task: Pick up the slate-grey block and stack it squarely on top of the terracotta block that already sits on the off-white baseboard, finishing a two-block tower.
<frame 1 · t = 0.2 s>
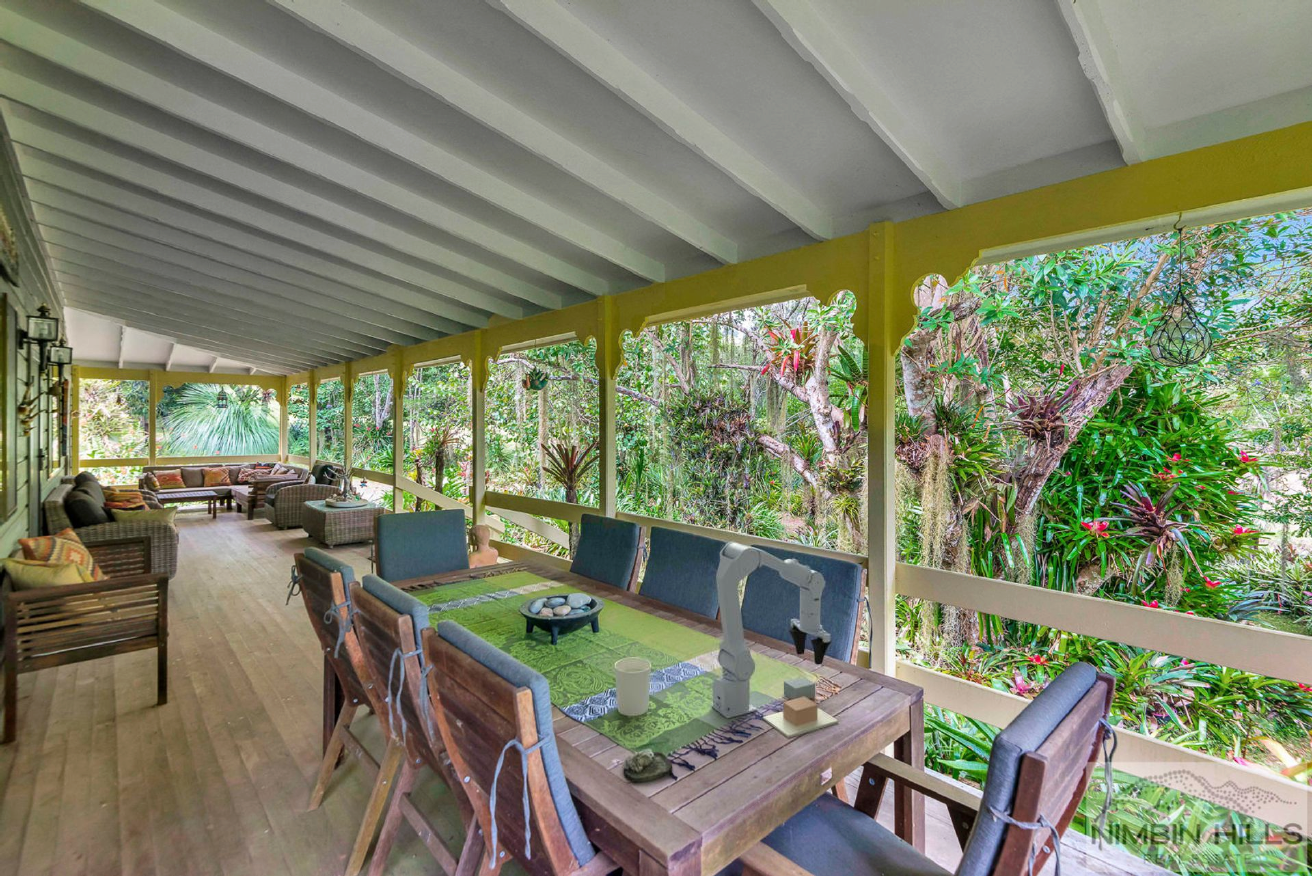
hand: (809, 658, 166), 9 cm above the table, tool pointing down, fingers open, 7 cm apart
dark green oval dish: (647, 771, 129), on the table
candle holder: (632, 709, 156), on the table
baseboard: (800, 720, 149), on the table
slate brick: (799, 696, 163), on the table
terracotta brick: (800, 718, 149), point 1 cm above the table, touching baseboard
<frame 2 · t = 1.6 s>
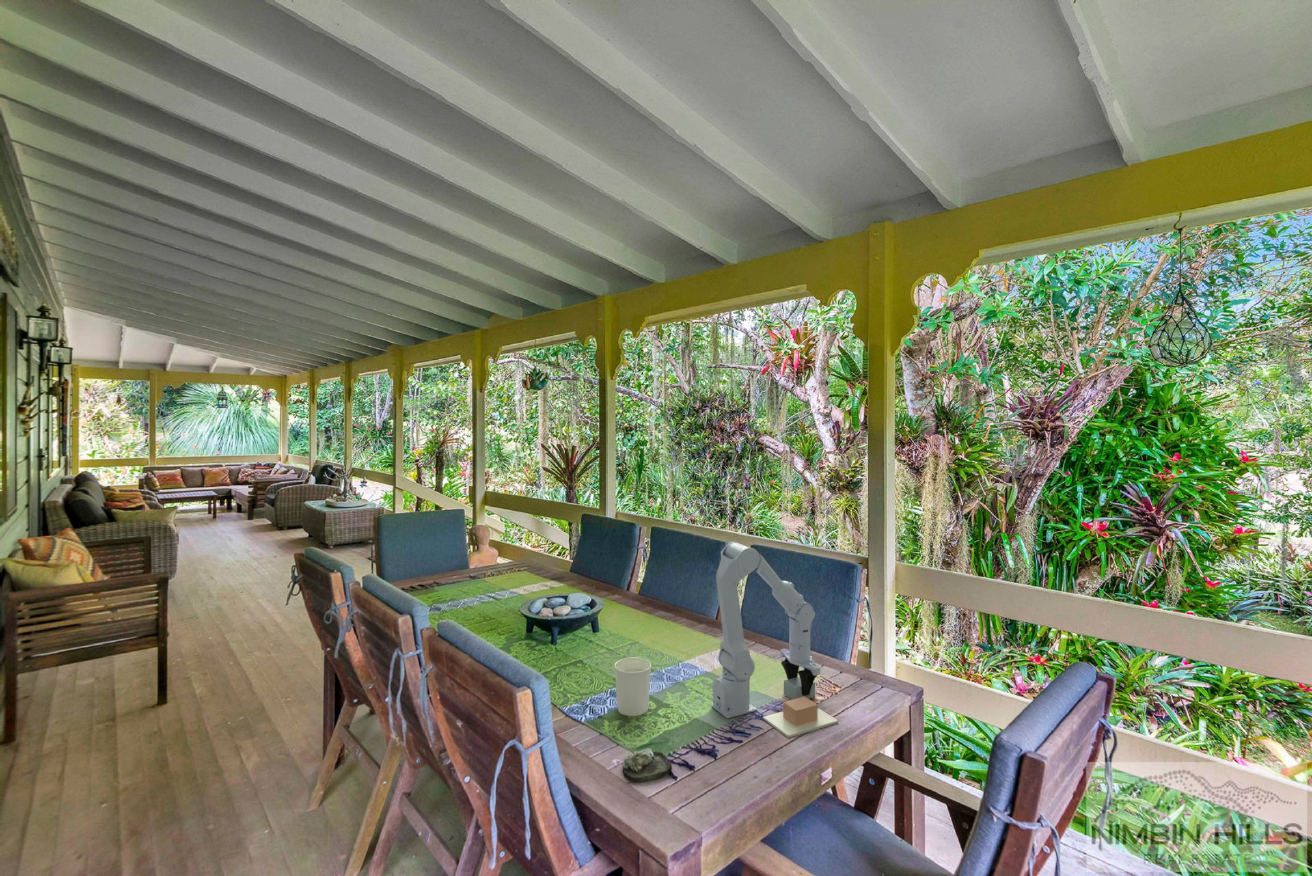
hand: (799, 690, 163), 1 cm above the table, tool pointing down, fingers closed on slate brick, 5 cm apart
slate brick: (799, 695, 163), on the table, touching gripper
everything else where it was.
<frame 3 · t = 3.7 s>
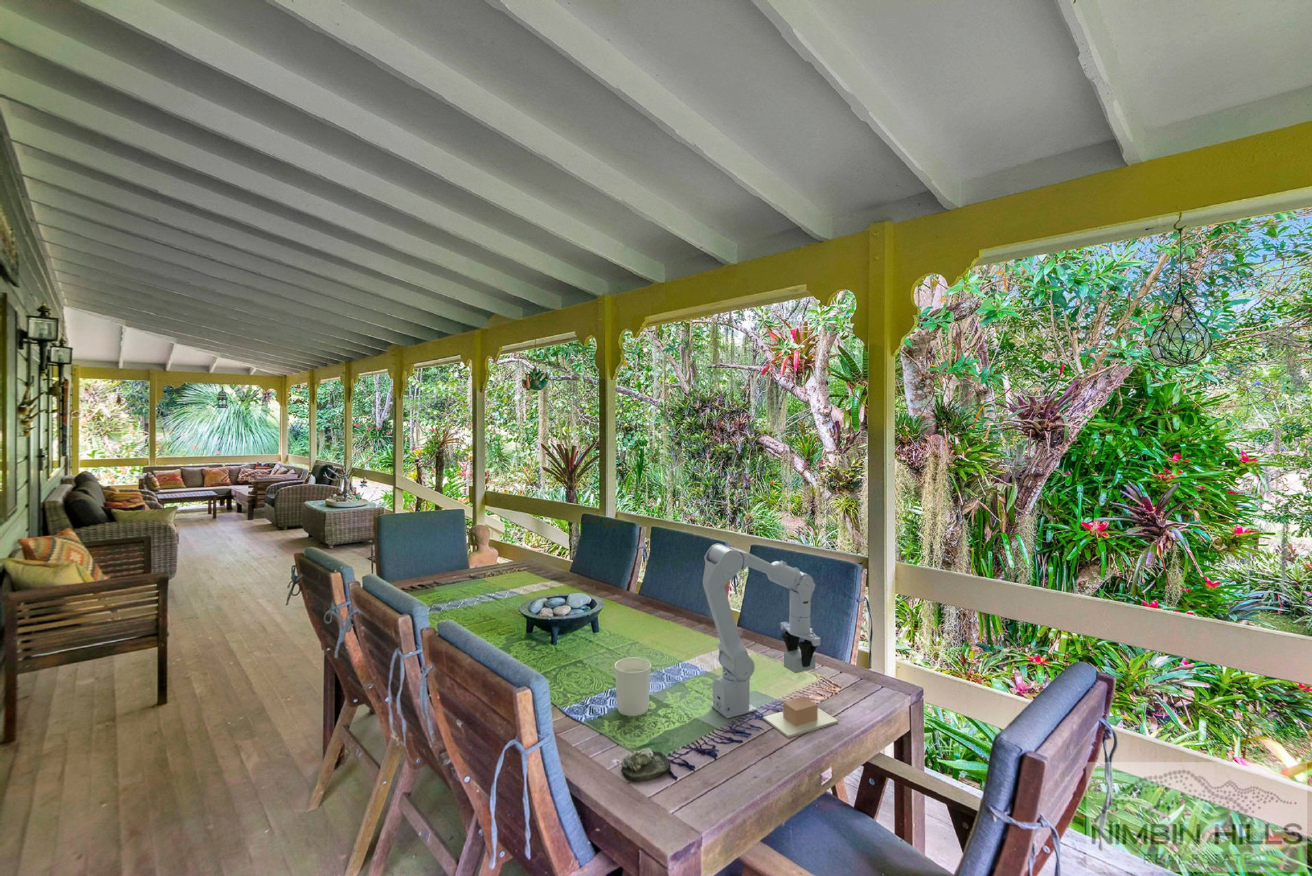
hand: (799, 662, 163), 9 cm above the table, tool pointing down, fingers closed on slate brick, 5 cm apart
slate brick: (799, 667, 163), point 8 cm above the table, touching gripper
everything else where it was.
when the fingers open (7 cm above the table, at t = 5.9 s): slate brick stays where it is, resting on terracotta brick.
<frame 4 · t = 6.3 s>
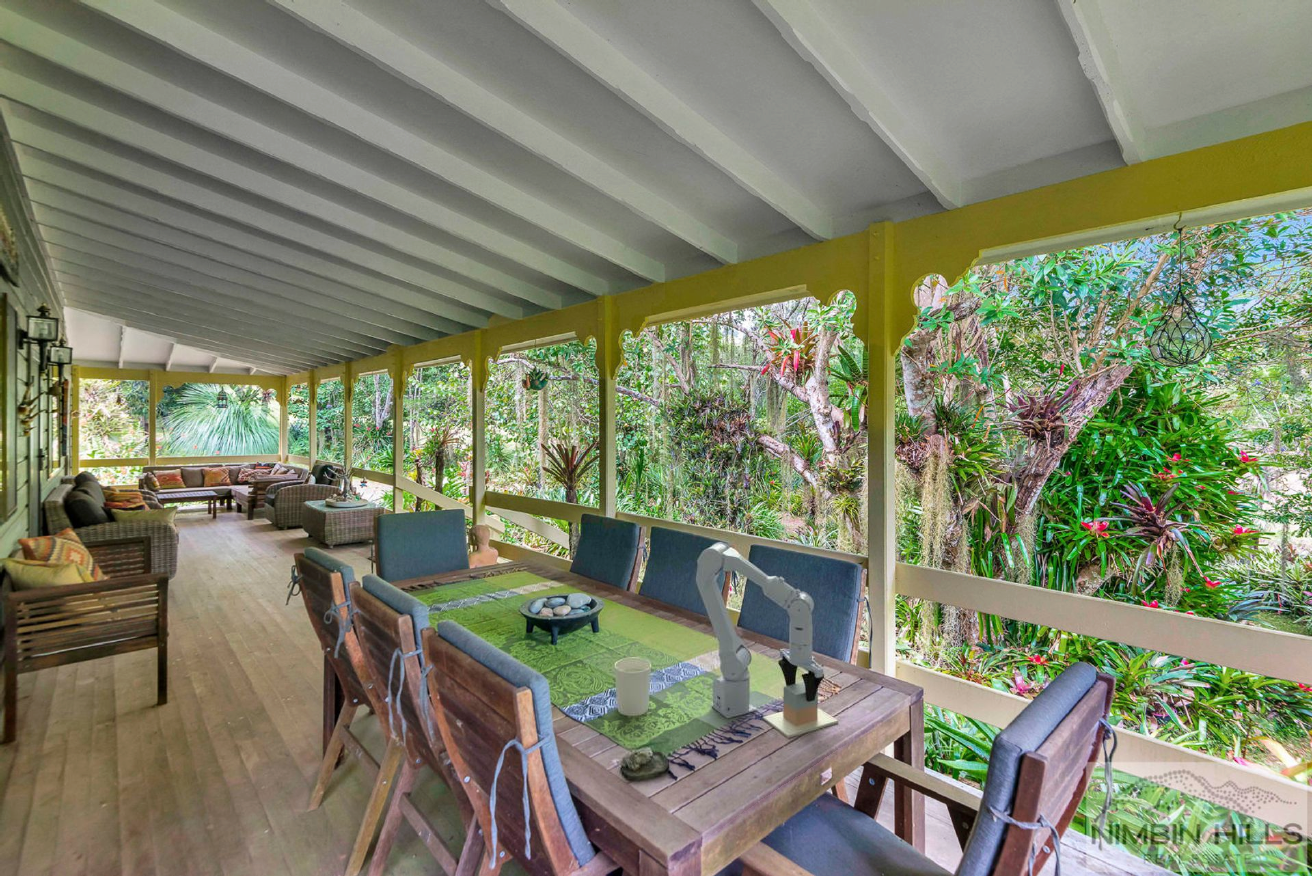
hand: (800, 694, 149), 7 cm above the table, tool pointing down, fingers open, 7 cm apart
slate brick: (800, 703, 149), point 5 cm above the table, touching terracotta brick
terracotta brick: (800, 718, 149), point 1 cm above the table, touching baseboard, slate brick
everything else where it was.
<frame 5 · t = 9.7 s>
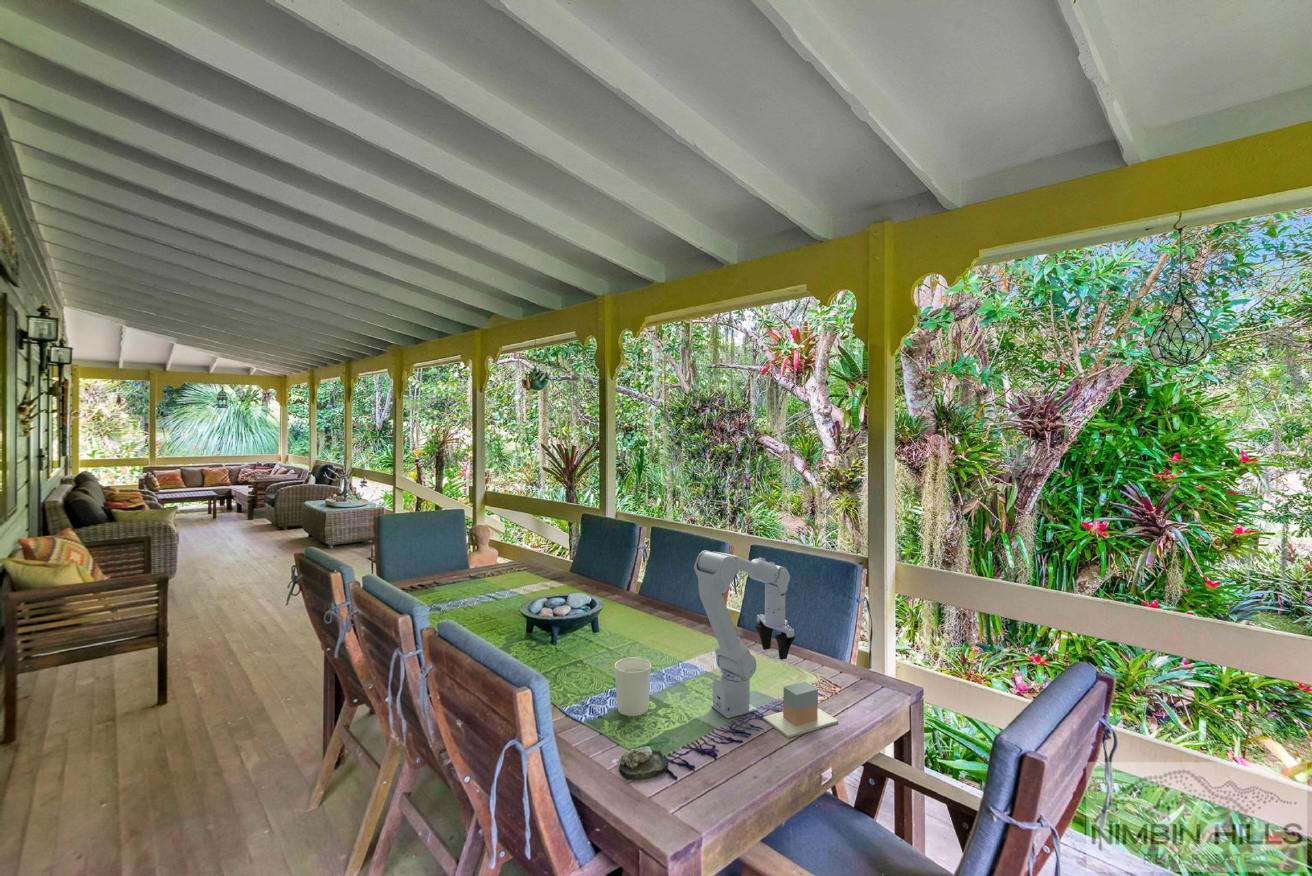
hand: (774, 653, 166), 10 cm above the table, tool pointing down, fingers open, 7 cm apart
at the end: slate brick 0.0 cm off-centre on the terracotta brick, point 4.0 cm above the terracotta brick's base; terracotta brick 0.0 cm off-centre on the baseboard, point 0.6 cm above the baseboard's base; slate brick tilted 0° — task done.
